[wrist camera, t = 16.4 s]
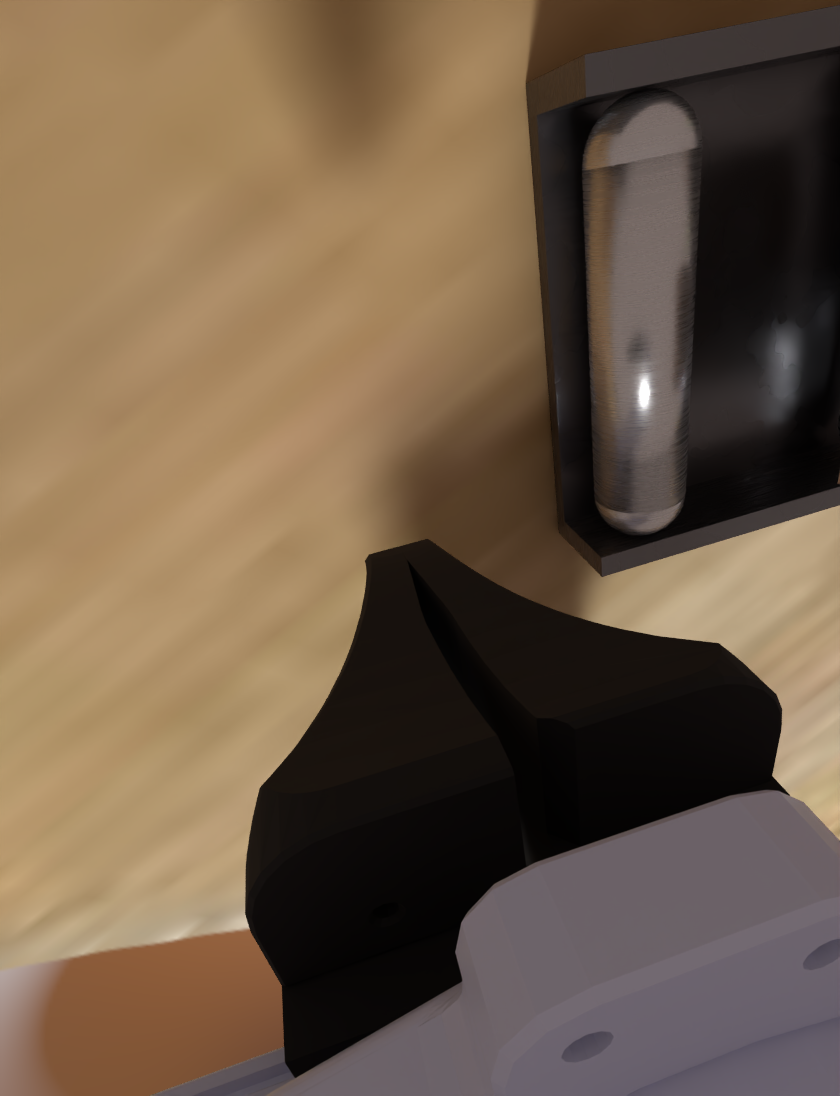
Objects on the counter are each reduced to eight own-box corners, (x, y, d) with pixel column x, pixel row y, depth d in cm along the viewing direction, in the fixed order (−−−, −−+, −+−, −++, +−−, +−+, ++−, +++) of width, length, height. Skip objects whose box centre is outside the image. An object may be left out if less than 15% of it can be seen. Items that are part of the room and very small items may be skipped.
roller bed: (863, 444, 26) (956, 478, 22) (559, 532, 24) (608, 584, 21) (955, -2, 18) (1115, -52, 15) (525, 83, 17) (595, 49, 13)
